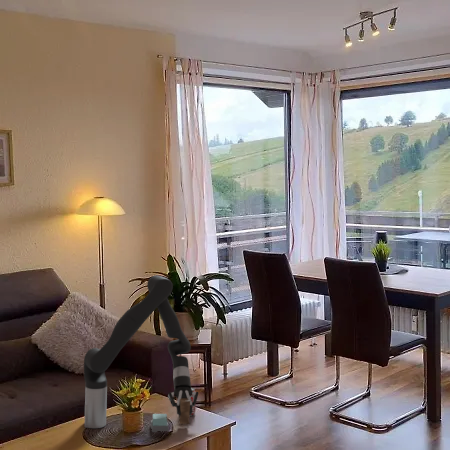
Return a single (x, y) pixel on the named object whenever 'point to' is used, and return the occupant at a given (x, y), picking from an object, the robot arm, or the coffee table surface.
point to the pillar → (184, 411)
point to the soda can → (192, 401)
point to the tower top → (159, 419)
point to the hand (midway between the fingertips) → (184, 414)
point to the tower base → (159, 427)
